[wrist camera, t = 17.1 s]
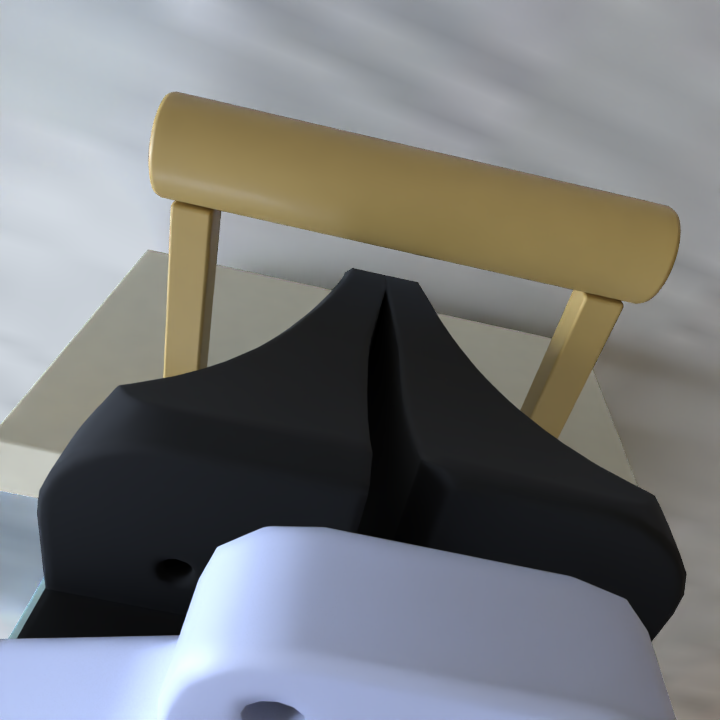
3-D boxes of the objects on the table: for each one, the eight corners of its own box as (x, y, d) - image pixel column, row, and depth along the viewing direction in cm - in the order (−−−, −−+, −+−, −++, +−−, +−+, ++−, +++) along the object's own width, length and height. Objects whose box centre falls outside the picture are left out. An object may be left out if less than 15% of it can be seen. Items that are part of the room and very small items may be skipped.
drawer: (152, 5, 13) (-71, 71, 7) (685, 131, 14) (890, 293, 8) (138, 614, 25) (48, 835, 19) (428, 670, 26) (431, 902, 19)
